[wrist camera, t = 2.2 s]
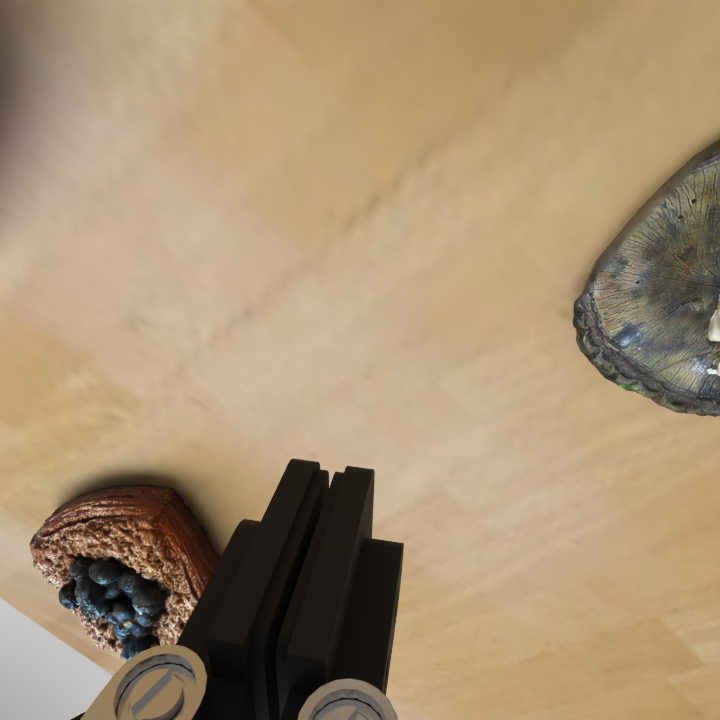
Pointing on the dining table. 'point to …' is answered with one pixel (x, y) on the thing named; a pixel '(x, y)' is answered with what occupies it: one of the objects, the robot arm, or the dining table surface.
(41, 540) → the pastry
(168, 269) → the dining table surface
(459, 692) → the dining table surface
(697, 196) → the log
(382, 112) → the dining table surface
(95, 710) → the robot arm
